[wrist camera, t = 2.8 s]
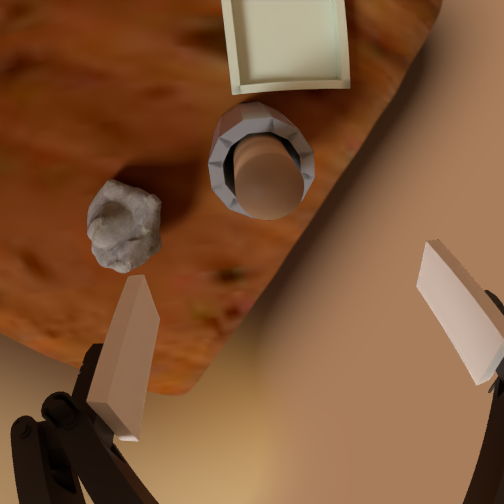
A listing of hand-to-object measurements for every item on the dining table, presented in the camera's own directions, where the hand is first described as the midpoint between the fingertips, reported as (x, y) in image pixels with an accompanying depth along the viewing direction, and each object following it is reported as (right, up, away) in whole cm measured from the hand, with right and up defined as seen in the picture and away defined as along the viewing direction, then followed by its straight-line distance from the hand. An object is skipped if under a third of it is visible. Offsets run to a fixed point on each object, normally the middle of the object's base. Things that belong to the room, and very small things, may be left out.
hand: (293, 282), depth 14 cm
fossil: (-15, +6, +20) cm, 26 cm away
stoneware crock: (-2, +13, +17) cm, 21 cm away
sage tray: (+1, +23, +11) cm, 25 cm away
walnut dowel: (-2, +12, +16) cm, 20 cm away
